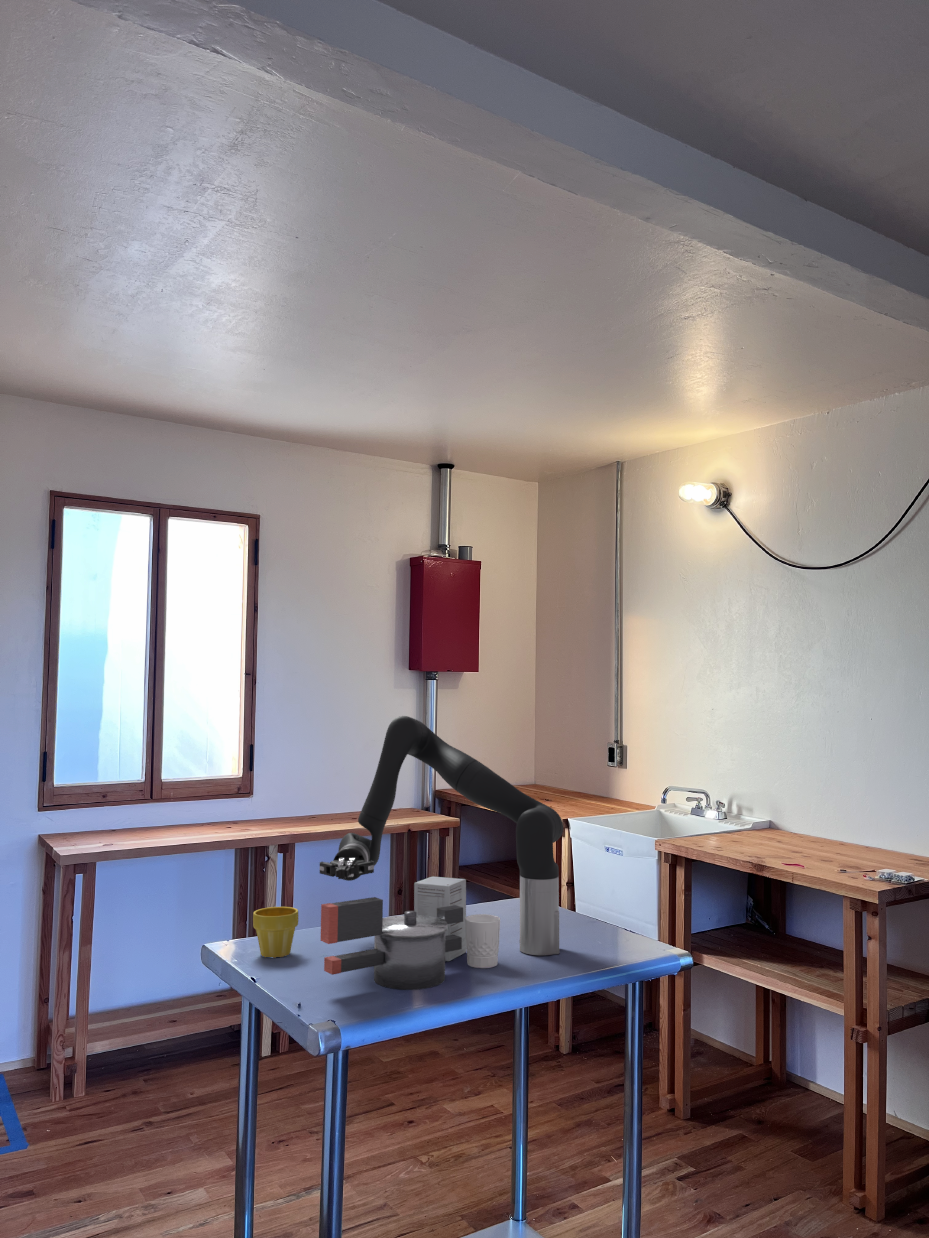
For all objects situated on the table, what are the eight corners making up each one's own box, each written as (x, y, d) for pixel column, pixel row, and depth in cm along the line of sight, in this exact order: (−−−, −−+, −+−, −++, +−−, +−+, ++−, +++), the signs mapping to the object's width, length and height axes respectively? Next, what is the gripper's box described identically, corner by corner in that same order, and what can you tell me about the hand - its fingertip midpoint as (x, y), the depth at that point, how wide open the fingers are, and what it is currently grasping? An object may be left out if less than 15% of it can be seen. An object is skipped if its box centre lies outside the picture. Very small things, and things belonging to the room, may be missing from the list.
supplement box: (467, 952, 214) (468, 878, 215) (449, 962, 205) (450, 885, 207) (431, 947, 218) (432, 875, 219) (412, 956, 210) (413, 881, 211)
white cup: (488, 971, 199) (488, 924, 200) (458, 965, 203) (458, 919, 204) (506, 962, 205) (506, 917, 206) (476, 957, 209) (476, 912, 210)
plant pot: (242, 954, 210) (244, 910, 211) (280, 945, 218) (281, 904, 219) (269, 963, 203) (270, 918, 204) (306, 954, 211) (307, 910, 212)
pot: (462, 967, 202) (462, 920, 202) (455, 1001, 179) (456, 948, 180) (342, 964, 203) (343, 918, 204) (320, 997, 180) (322, 945, 181)
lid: (438, 913, 208) (438, 880, 208) (481, 927, 195) (481, 892, 196) (306, 934, 188) (307, 898, 189) (343, 951, 175) (344, 913, 176)
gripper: (323, 845, 216) (311, 857, 199) (379, 844, 216) (371, 856, 199) (323, 877, 215) (311, 892, 198) (379, 876, 215) (372, 891, 198)
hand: (341, 874), depth 198 cm, fingers closed
